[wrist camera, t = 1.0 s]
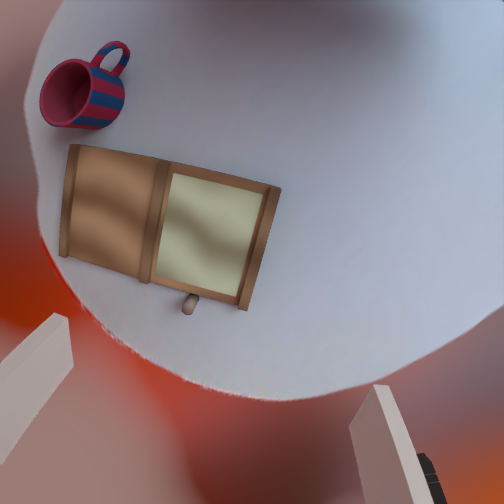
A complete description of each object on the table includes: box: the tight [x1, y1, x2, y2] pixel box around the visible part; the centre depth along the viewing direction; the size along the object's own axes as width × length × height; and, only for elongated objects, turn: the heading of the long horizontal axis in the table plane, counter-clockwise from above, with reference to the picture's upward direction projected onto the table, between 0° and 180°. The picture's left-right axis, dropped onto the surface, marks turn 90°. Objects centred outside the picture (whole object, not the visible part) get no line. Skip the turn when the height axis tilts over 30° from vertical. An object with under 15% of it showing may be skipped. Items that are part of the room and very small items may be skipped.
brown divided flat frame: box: [59, 144, 281, 315], centre depth 31 cm, size 15×23×3 cm, turn 76°
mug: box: [39, 41, 130, 129], centre depth 25 cm, size 7×10×7 cm
